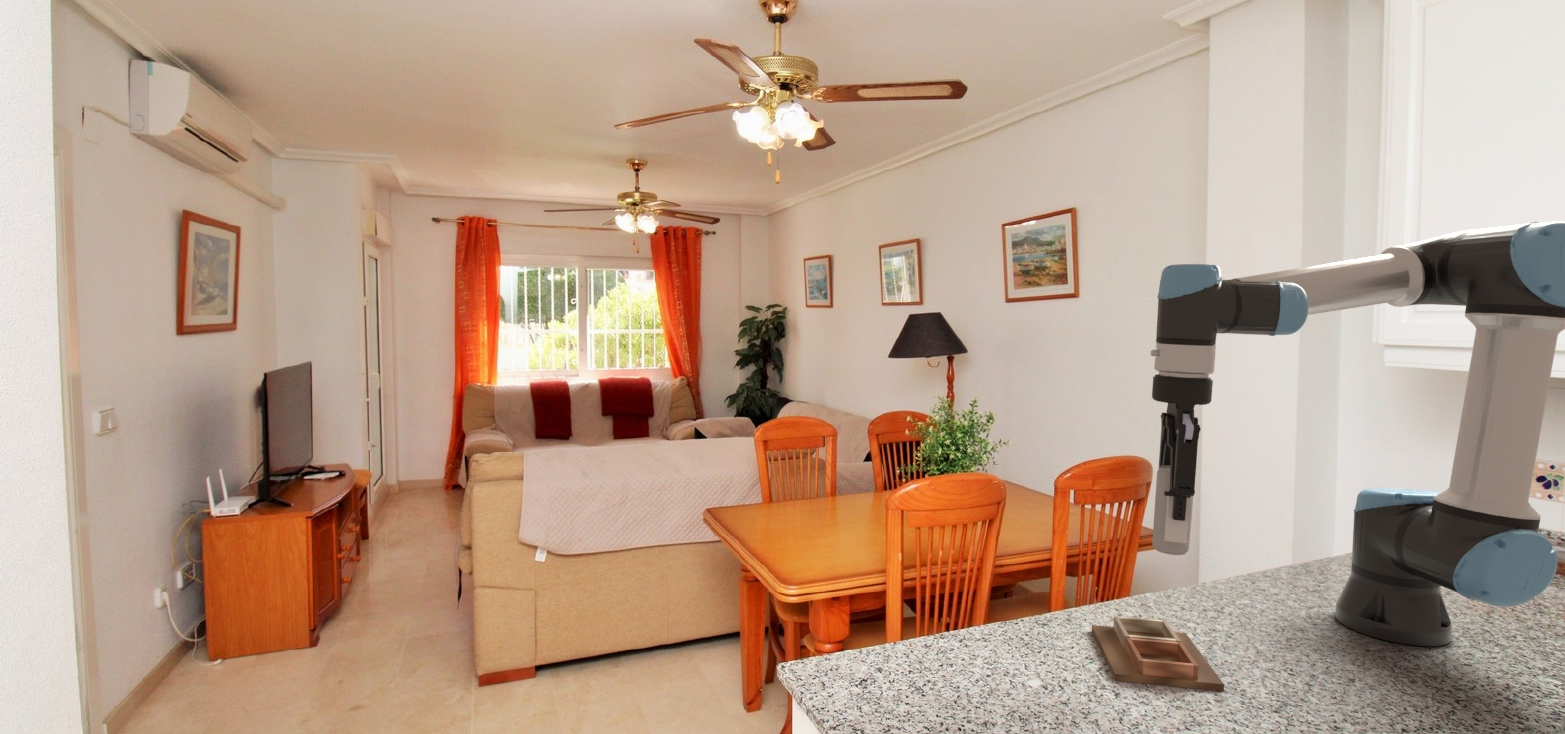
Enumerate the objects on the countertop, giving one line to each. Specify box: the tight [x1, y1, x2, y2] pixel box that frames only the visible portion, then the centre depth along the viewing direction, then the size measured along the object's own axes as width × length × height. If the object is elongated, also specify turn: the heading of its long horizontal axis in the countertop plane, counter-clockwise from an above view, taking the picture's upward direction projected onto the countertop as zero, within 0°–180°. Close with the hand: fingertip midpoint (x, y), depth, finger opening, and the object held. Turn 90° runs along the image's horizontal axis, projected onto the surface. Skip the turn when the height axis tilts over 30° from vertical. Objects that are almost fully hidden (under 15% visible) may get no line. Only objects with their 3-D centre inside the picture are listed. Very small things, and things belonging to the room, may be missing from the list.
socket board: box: [1091, 615, 1225, 692], centre depth 116 cm, size 14×17×3 cm
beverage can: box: [1151, 465, 1194, 556], centre depth 111 cm, size 5×5×12 cm
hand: (1171, 535), depth 112 cm, fingers closed on beverage can, 5 cm apart
